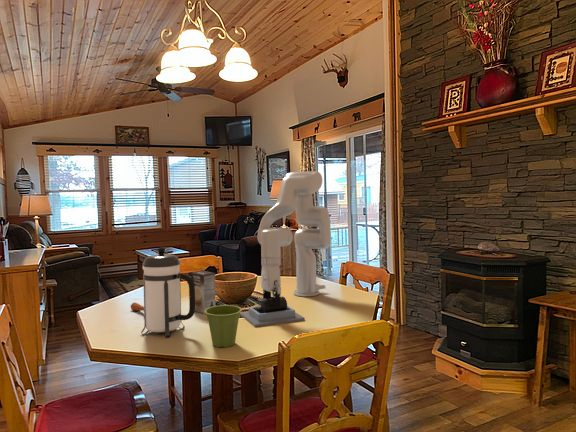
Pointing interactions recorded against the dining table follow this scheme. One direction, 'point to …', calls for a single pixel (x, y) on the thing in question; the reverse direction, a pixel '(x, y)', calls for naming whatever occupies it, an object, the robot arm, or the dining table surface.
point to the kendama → (136, 306)
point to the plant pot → (223, 324)
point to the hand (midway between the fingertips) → (271, 304)
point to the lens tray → (271, 317)
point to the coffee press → (164, 293)
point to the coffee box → (204, 290)
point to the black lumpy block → (267, 305)
